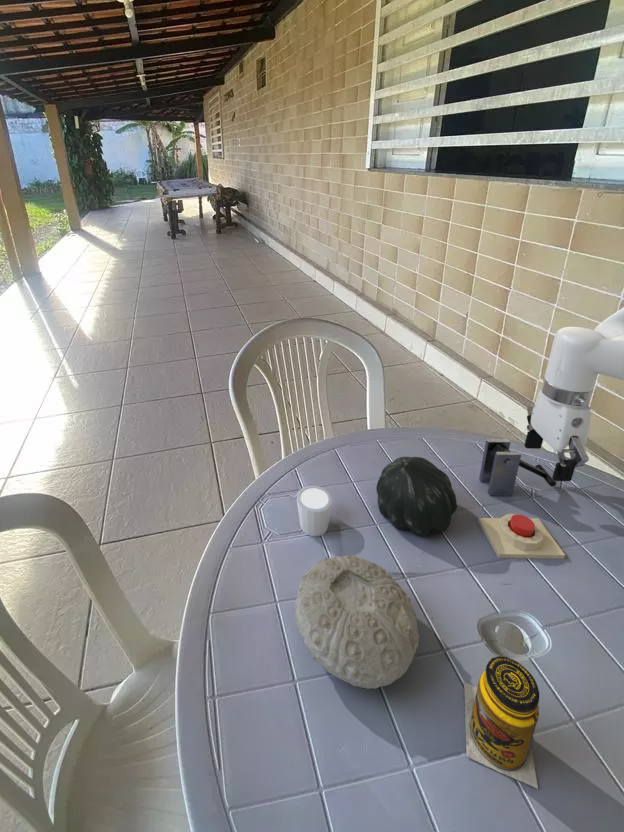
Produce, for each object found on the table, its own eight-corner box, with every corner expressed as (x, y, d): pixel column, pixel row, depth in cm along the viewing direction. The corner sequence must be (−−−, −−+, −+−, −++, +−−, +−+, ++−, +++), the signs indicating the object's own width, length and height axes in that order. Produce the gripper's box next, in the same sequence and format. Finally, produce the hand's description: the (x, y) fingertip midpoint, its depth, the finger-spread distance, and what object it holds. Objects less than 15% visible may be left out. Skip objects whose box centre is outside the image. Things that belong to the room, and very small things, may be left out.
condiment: (466, 757, 51) (480, 697, 47) (463, 683, 59) (476, 625, 54) (537, 790, 48) (560, 729, 44) (526, 707, 56) (544, 648, 51)
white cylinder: (332, 540, 81) (332, 513, 79) (296, 537, 82) (295, 510, 80) (330, 512, 87) (331, 486, 85) (297, 510, 89) (296, 484, 86)
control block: (536, 526, 81) (540, 510, 80) (562, 564, 74) (567, 547, 72) (476, 526, 82) (479, 510, 81) (497, 563, 75) (501, 546, 73)
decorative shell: (404, 588, 71) (409, 545, 68) (427, 717, 55) (436, 669, 52) (298, 575, 75) (297, 533, 71) (291, 693, 59) (289, 646, 55)
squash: (467, 481, 86) (419, 428, 85) (476, 542, 73) (419, 481, 73) (408, 503, 94) (363, 454, 93) (406, 562, 81) (354, 507, 80)
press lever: (536, 472, 90) (544, 464, 90) (551, 489, 86) (559, 481, 85) (486, 447, 89) (494, 439, 88) (498, 463, 84) (506, 455, 84)
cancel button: (525, 521, 78) (527, 514, 78) (537, 537, 75) (539, 530, 74) (505, 521, 79) (507, 514, 78) (516, 537, 75) (517, 530, 75)
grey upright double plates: (512, 477, 94) (521, 432, 89) (536, 508, 85) (547, 461, 81) (456, 477, 95) (463, 433, 90) (474, 508, 86) (482, 461, 82)
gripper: (622, 417, 72) (595, 495, 78) (558, 369, 88) (540, 436, 94) (575, 417, 73) (553, 494, 79) (520, 369, 89) (505, 436, 95)
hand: (546, 463), depth 87 cm, fingers open, 9 cm apart
